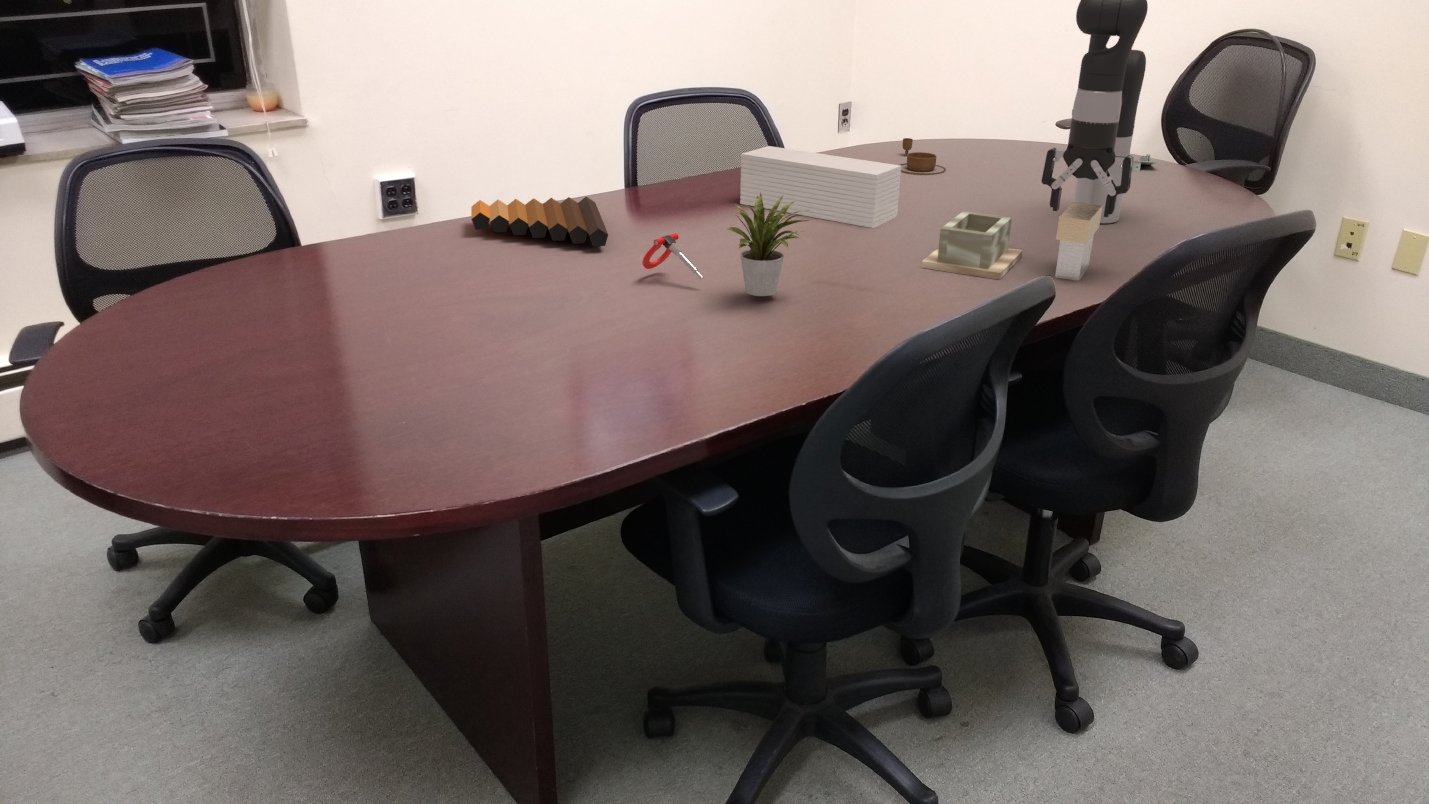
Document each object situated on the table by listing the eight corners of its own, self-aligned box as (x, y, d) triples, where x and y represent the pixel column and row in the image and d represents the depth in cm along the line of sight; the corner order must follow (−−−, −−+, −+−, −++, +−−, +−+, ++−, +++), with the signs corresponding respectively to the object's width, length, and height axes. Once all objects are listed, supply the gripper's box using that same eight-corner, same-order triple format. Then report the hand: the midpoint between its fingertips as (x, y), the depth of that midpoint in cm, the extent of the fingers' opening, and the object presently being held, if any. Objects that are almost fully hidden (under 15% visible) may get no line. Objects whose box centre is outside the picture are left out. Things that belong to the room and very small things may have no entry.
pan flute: (608, 245, 205) (595, 212, 227) (608, 228, 203) (594, 196, 226) (471, 251, 200) (472, 216, 222) (470, 233, 199) (470, 200, 221)
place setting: (877, 176, 264) (878, 151, 262) (899, 160, 281) (901, 137, 278) (949, 183, 258) (951, 158, 255) (968, 167, 274) (970, 143, 272)
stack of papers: (897, 217, 228) (901, 165, 223) (873, 228, 220) (877, 174, 215) (766, 194, 244) (768, 145, 240) (740, 204, 236) (741, 153, 232)
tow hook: (661, 260, 195) (678, 230, 190) (698, 301, 192) (716, 271, 187) (635, 269, 190) (651, 238, 185) (673, 310, 187) (690, 280, 182)
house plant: (775, 313, 172) (780, 211, 165) (701, 297, 178) (702, 198, 171) (817, 289, 183) (823, 192, 176) (745, 275, 189) (748, 181, 183)
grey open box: (947, 245, 208) (951, 208, 205) (1021, 256, 202) (1027, 218, 199) (921, 267, 195) (924, 227, 192) (999, 279, 189) (1004, 239, 186)
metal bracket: (1168, 154, 260) (1102, 151, 263) (1165, 179, 261) (1099, 175, 263) (1153, 159, 274) (1091, 156, 277) (1151, 183, 275) (1089, 180, 277)
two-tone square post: (1064, 261, 200) (1073, 201, 195) (1092, 265, 198) (1102, 205, 193) (1050, 279, 190) (1059, 216, 185) (1079, 283, 188) (1089, 220, 183)
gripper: (1143, 118, 183) (1127, 214, 189) (1056, 110, 189) (1043, 203, 195) (1136, 124, 177) (1120, 223, 183) (1047, 116, 183) (1034, 212, 189)
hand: (1080, 213), depth 189 cm, fingers open, 8 cm apart
